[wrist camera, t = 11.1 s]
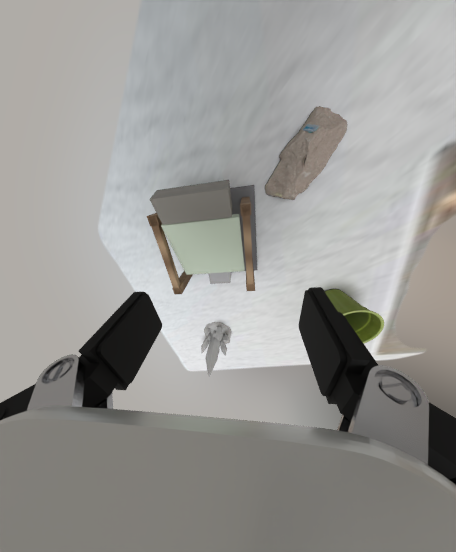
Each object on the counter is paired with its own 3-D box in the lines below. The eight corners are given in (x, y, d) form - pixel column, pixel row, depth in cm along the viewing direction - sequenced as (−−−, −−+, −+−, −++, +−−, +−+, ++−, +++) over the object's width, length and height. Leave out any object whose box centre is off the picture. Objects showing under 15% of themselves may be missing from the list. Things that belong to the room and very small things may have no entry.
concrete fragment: (258, 186, 34) (261, 187, 28) (310, 106, 27) (326, 88, 22) (284, 206, 35) (291, 211, 30) (340, 134, 28) (361, 124, 23)
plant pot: (318, 319, 50) (335, 352, 41) (302, 293, 46) (317, 323, 36) (359, 304, 46) (390, 336, 36) (346, 273, 42) (377, 302, 32)
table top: (168, 196, 36) (167, 196, 36) (254, 185, 33) (254, 185, 33) (189, 273, 46) (189, 274, 46) (257, 269, 43) (257, 270, 43)
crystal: (237, 323, 54) (234, 367, 42) (225, 345, 61) (220, 389, 48) (209, 314, 54) (198, 356, 41) (200, 338, 60) (188, 380, 48)
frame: (175, 205, 37) (146, 216, 26) (249, 196, 34) (250, 203, 24) (191, 266, 45) (174, 294, 34) (252, 262, 42) (255, 290, 32)
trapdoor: (150, 191, 24) (143, 200, 22) (236, 178, 23) (235, 187, 21) (188, 268, 37) (185, 278, 35) (244, 264, 35) (244, 274, 34)
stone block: (206, 266, 38) (210, 283, 41) (227, 264, 37) (230, 282, 40) (210, 257, 42) (213, 273, 45) (229, 256, 42) (231, 272, 44)
